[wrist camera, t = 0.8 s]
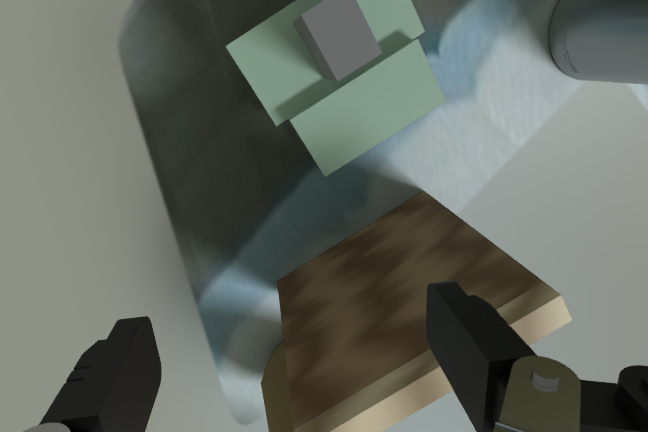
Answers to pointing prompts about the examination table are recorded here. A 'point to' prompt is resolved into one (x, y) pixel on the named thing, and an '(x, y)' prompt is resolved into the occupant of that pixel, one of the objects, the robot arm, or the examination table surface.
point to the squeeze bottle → (277, 392)
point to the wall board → (393, 315)
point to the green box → (340, 73)
